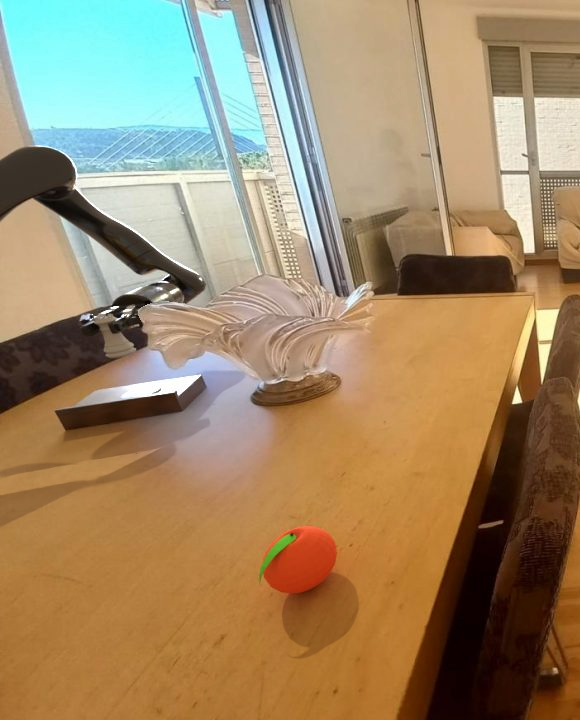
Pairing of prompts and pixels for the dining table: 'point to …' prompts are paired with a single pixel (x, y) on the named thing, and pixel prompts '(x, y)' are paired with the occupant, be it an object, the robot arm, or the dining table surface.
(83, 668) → the dining table surface
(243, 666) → the dining table surface
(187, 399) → the shelf
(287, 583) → the clementine
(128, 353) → the rook chess piece
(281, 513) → the dining table surface
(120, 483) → the dining table surface
